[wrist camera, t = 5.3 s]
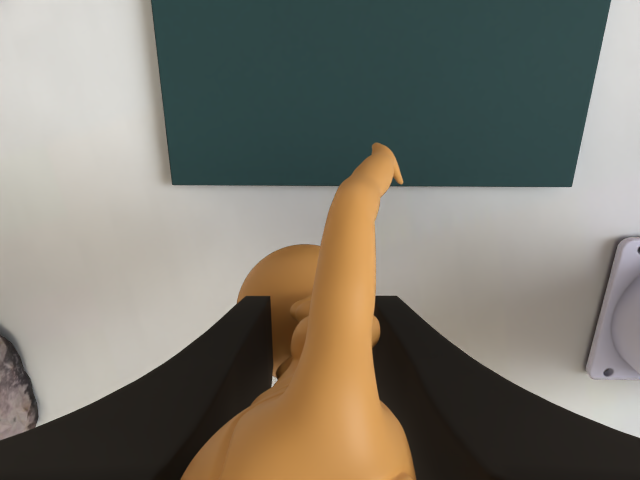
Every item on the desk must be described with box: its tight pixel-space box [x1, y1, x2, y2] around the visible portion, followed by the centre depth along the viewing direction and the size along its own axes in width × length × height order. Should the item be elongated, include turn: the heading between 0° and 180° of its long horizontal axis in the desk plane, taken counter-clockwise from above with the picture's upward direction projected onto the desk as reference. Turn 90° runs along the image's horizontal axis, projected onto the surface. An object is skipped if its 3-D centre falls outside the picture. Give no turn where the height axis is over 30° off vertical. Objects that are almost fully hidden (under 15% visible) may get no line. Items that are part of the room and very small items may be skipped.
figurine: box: [180, 143, 416, 480], centre depth 9 cm, size 8×6×12 cm
